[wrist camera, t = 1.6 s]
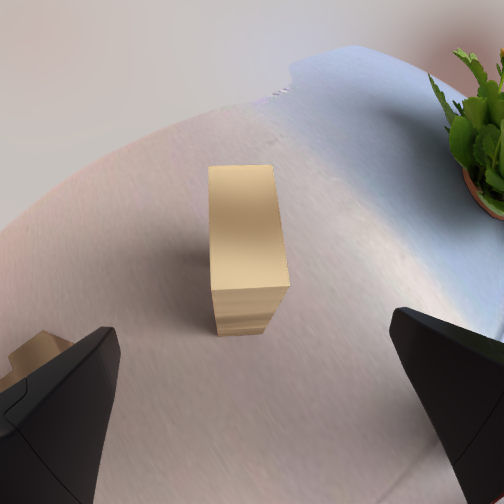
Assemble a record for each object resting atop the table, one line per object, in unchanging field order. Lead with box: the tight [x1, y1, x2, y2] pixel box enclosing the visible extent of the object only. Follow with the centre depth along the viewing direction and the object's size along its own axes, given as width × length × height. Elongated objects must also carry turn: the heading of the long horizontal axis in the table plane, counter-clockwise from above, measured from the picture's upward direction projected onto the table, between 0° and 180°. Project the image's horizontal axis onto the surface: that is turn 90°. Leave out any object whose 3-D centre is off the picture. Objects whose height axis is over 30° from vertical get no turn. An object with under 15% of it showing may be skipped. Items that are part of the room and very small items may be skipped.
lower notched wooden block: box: [0, 330, 74, 393], centre depth 15 cm, size 12×2×4 cm, turn 128°
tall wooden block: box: [209, 165, 290, 337], centre depth 18 cm, size 6×3×10 cm, turn 5°
